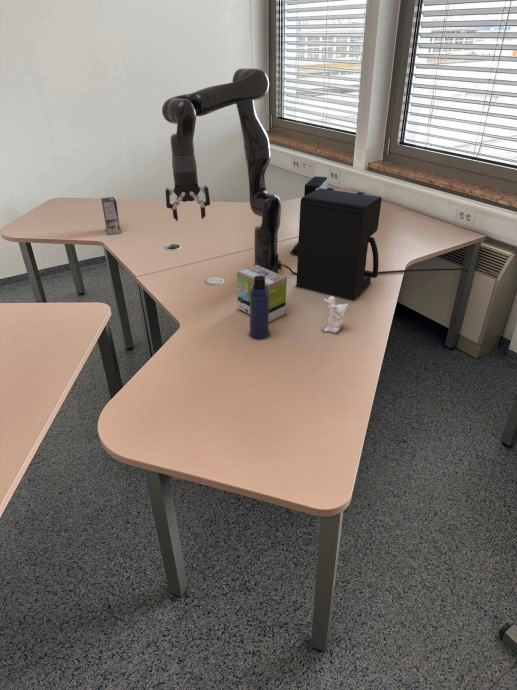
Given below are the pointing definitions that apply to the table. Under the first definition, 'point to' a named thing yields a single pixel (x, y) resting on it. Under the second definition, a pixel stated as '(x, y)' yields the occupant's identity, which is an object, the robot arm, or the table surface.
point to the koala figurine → (335, 315)
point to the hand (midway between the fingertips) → (189, 219)
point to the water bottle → (259, 309)
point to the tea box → (274, 287)
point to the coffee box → (111, 215)
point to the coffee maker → (337, 241)
